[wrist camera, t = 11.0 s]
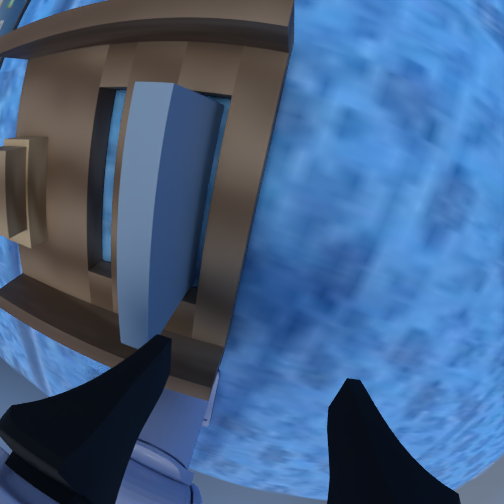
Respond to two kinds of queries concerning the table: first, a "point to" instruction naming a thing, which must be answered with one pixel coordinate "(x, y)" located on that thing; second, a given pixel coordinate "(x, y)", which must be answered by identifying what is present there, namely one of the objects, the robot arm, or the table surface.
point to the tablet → (11, 16)
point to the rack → (94, 157)
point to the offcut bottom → (33, 189)
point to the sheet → (161, 203)
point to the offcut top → (12, 190)
